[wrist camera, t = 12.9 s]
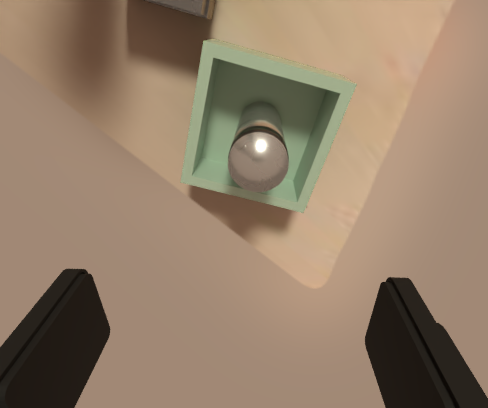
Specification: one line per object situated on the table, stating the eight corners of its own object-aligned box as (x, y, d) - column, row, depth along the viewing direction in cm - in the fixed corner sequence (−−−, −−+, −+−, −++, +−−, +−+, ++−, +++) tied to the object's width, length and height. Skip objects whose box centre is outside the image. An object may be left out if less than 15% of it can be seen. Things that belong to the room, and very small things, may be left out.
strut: (238, 100, 31) (225, 134, 21) (282, 100, 31) (291, 134, 21) (239, 143, 34) (228, 192, 23) (280, 143, 33) (287, 193, 23)
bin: (192, 160, 36) (180, 182, 31) (214, 38, 29) (203, 40, 24) (297, 187, 37) (303, 213, 32) (340, 75, 30) (356, 84, 25)
